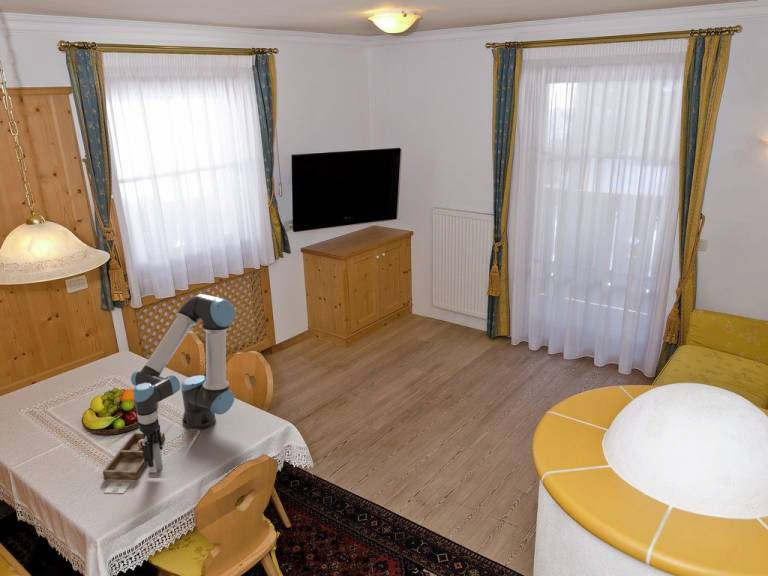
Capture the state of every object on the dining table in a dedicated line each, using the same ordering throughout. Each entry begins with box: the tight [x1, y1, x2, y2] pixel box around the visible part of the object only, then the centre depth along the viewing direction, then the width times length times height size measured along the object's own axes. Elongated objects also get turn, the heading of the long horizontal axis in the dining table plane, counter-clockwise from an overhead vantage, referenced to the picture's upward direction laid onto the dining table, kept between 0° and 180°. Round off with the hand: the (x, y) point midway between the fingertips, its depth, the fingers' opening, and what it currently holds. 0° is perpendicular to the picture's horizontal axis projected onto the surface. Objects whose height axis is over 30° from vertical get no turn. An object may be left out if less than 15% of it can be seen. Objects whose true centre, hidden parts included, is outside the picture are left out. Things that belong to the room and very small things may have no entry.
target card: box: [103, 481, 131, 495], centre depth 234 cm, size 8×6×1 cm
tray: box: [102, 431, 166, 482], centre depth 252 cm, size 14×28×4 cm, turn 177°
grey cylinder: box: [153, 443, 163, 472], centre depth 243 cm, size 5×5×12 cm
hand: (156, 467), depth 245 cm, fingers closed on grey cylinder, 5 cm apart
